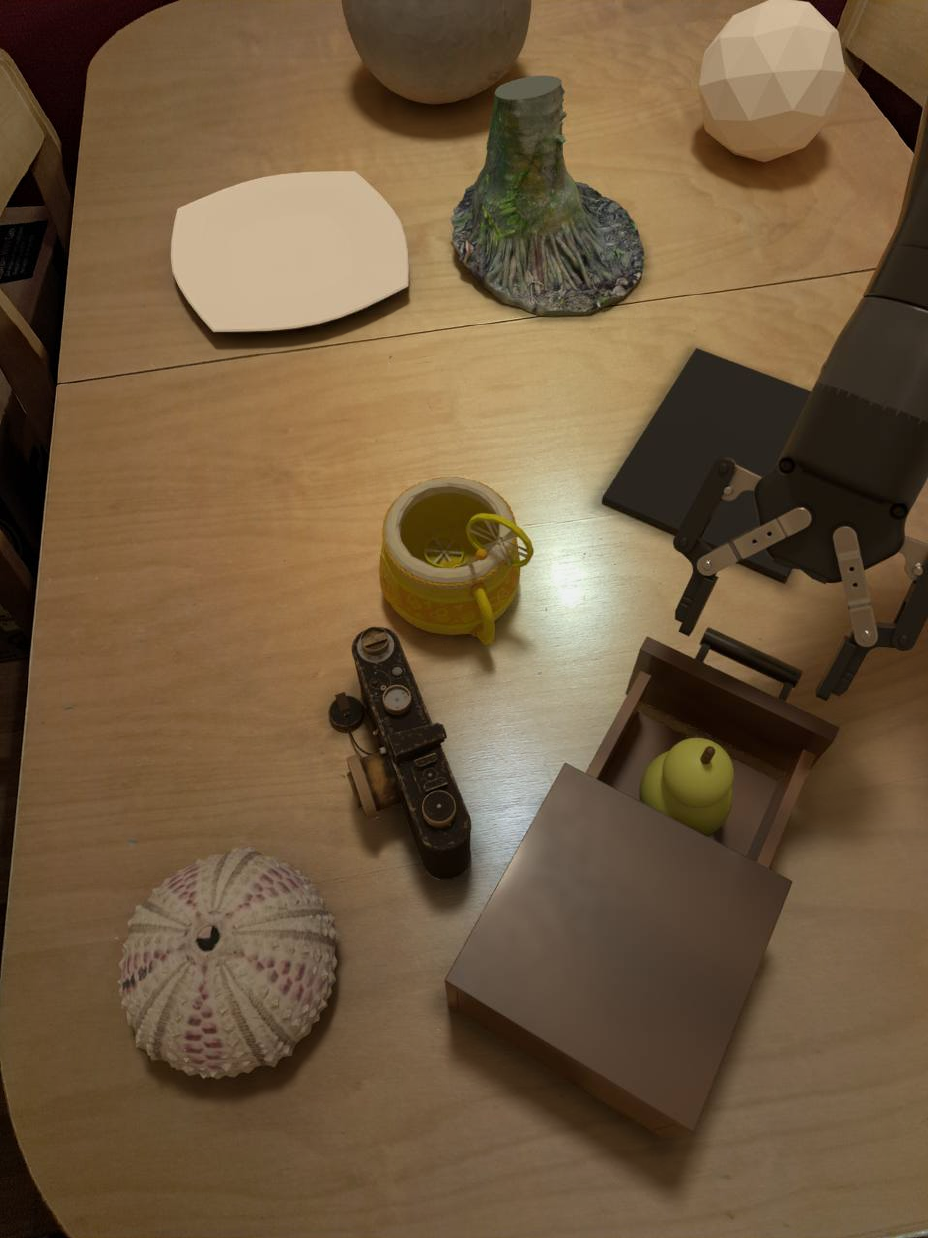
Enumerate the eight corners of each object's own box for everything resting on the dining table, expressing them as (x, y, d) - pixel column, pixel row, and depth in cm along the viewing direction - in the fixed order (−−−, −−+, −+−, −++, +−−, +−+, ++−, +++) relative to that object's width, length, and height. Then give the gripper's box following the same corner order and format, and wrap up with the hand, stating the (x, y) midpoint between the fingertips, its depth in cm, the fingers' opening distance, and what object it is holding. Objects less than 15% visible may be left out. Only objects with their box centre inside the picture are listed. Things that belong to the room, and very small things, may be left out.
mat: (862, 417, 83) (865, 411, 82) (783, 582, 74) (786, 576, 74) (694, 353, 87) (696, 347, 87) (601, 502, 78) (602, 496, 78)
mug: (360, 557, 76) (343, 460, 65) (483, 512, 78) (486, 411, 68) (422, 687, 70) (414, 602, 59) (554, 634, 72) (568, 544, 62)
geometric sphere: (717, 169, 110) (723, 20, 104) (852, 157, 102) (867, -5, 97) (673, 166, 99) (678, -1, 93) (822, 152, 91) (836, -31, 85)
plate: (199, 367, 86) (194, 351, 85) (157, 216, 98) (152, 199, 96) (437, 311, 90) (436, 294, 89) (370, 171, 101) (369, 153, 100)
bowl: (562, 79, 110) (575, -66, 97) (447, 160, 102) (445, 14, 89) (431, 19, 117) (427, -124, 104) (315, 90, 109) (294, -55, 96)
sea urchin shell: (280, 1124, 55) (254, 1116, 48) (87, 1027, 58) (35, 1007, 51) (378, 911, 61) (367, 877, 54) (199, 833, 64) (166, 791, 57)
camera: (318, 692, 69) (302, 639, 63) (403, 664, 71) (396, 608, 64) (389, 903, 62) (380, 869, 55) (484, 867, 63) (486, 829, 56)
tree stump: (531, 352, 88) (503, 159, 75) (425, 277, 101) (385, 101, 87) (683, 271, 92) (682, 75, 79) (563, 209, 105) (545, 31, 91)
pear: (732, 796, 63) (777, 732, 54) (699, 870, 61) (740, 816, 52) (653, 756, 65) (684, 687, 56) (617, 827, 62) (643, 767, 53)
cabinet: (553, 809, 65) (565, 762, 57) (753, 916, 61) (793, 880, 54) (447, 1005, 58) (444, 980, 51) (663, 1138, 55) (693, 1133, 47)
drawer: (655, 638, 71) (672, 589, 65) (826, 719, 67) (861, 675, 61) (547, 837, 63) (555, 803, 57) (735, 940, 59) (764, 914, 54)
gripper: (755, 348, 49) (630, 623, 54) (1032, 453, 46) (872, 737, 50) (764, 361, 56) (652, 603, 61) (1005, 452, 52) (866, 702, 57)
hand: (751, 663), depth 56 cm, fingers open, 8 cm apart
